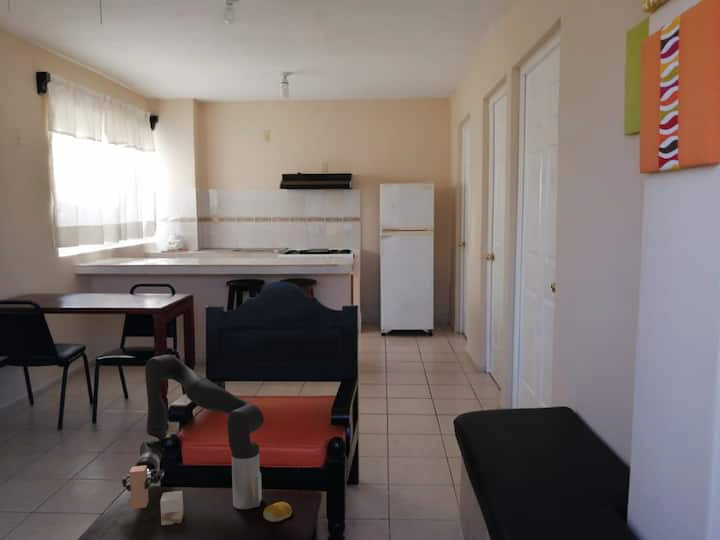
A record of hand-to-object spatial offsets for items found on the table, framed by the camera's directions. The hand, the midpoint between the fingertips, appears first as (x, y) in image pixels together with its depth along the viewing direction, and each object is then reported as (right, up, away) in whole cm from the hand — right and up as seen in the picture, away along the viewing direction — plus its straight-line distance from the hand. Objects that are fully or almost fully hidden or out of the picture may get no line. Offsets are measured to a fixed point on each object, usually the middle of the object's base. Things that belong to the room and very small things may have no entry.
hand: (137, 487), depth 179 cm
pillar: (0, -7, +3) cm, 8 cm away
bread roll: (+44, -11, +4) cm, 46 cm away
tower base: (+10, -12, +3) cm, 16 cm away
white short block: (+10, -8, +3) cm, 13 cm away
